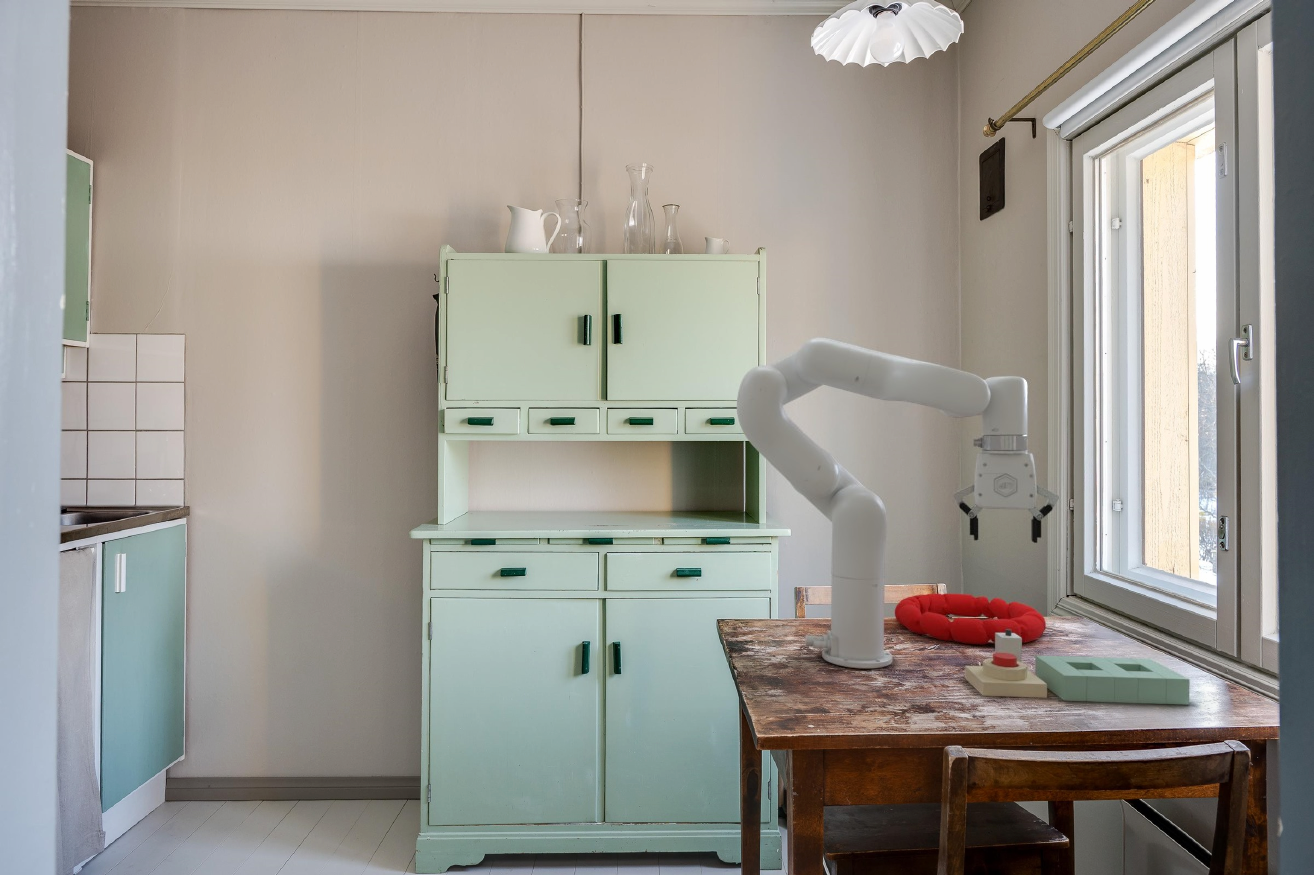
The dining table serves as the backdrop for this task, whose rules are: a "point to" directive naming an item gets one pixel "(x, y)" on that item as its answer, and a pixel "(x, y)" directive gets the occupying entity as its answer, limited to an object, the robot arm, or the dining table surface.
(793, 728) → the dining table surface
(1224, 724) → the dining table surface
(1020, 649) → the white block with knob
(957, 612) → the decorative ring
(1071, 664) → the green socket board
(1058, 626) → the dining table surface
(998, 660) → the power button
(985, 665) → the switch box
